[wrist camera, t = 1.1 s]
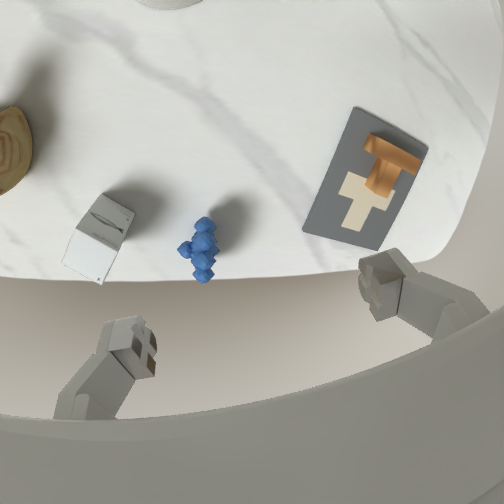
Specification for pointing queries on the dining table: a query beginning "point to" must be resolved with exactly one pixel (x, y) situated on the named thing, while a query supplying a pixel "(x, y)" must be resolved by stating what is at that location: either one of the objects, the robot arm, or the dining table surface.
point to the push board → (360, 187)
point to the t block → (387, 165)
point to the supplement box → (98, 239)
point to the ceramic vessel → (14, 147)
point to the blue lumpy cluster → (201, 250)
